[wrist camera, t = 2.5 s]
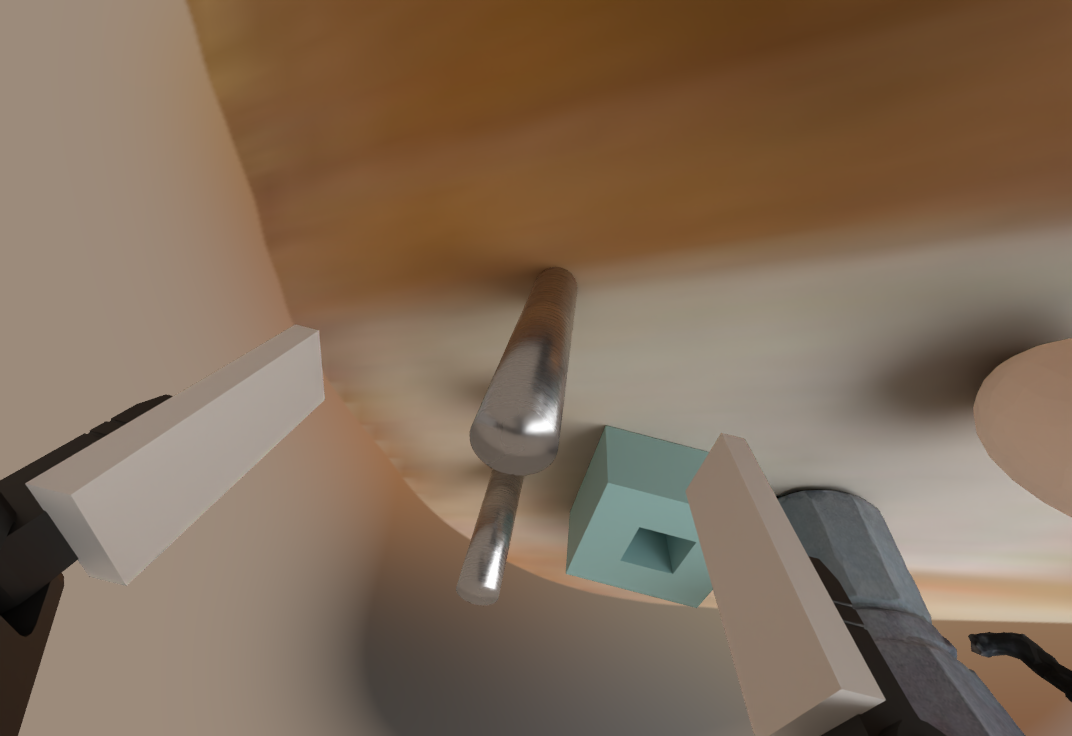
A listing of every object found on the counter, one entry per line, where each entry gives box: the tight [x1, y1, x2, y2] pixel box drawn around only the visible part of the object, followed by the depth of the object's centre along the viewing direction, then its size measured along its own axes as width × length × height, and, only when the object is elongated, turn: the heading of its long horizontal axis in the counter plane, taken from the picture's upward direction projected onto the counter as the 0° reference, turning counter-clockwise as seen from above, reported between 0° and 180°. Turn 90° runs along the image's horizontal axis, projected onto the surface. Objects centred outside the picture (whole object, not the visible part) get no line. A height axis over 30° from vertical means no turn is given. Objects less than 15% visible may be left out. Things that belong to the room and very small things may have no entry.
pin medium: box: [456, 469, 524, 605], centre depth 27 cm, size 3×3×10 cm
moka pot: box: [778, 490, 1072, 736], centre depth 21 cm, size 10×15×20 cm, turn 134°
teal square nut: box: [566, 426, 713, 608], centre depth 28 cm, size 10×10×6 cm
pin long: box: [470, 267, 577, 475], centre depth 17 cm, size 3×3×14 cm
